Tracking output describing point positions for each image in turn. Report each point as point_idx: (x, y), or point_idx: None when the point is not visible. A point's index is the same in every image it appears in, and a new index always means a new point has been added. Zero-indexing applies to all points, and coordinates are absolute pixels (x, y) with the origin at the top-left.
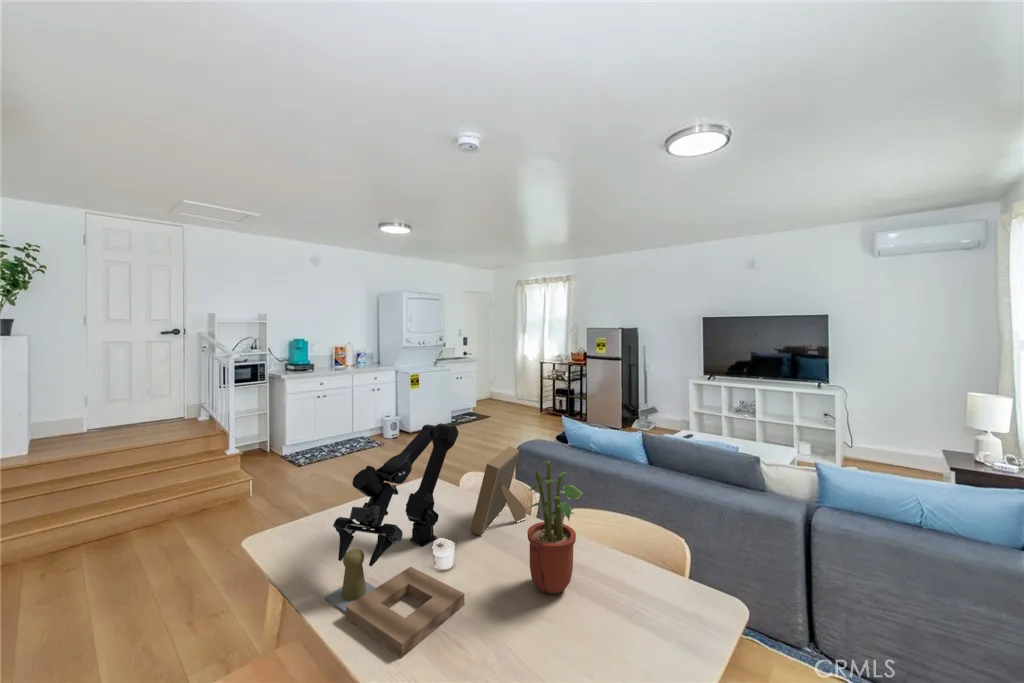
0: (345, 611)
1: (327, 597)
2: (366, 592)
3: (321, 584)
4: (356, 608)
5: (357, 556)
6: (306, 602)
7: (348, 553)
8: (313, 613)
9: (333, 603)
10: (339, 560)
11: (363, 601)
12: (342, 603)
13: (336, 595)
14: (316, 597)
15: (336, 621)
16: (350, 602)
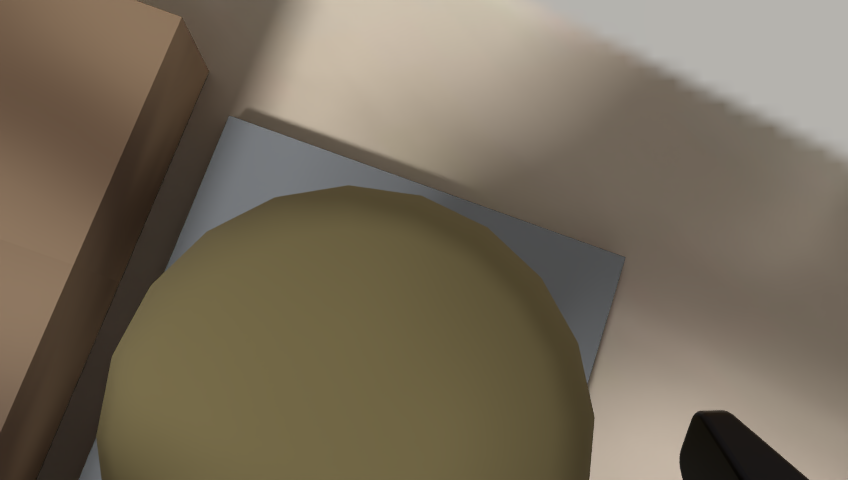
0: (263, 129)
1: (587, 256)
2: None
3: (825, 454)
4: (41, 17)
5: (156, 330)
6: (744, 168)
7: (456, 339)
8: (563, 58)
9: (466, 202)
10: (695, 420)
11: (24, 135)
12: None
13: None
14: (710, 257)
15: (278, 22)
16: None
